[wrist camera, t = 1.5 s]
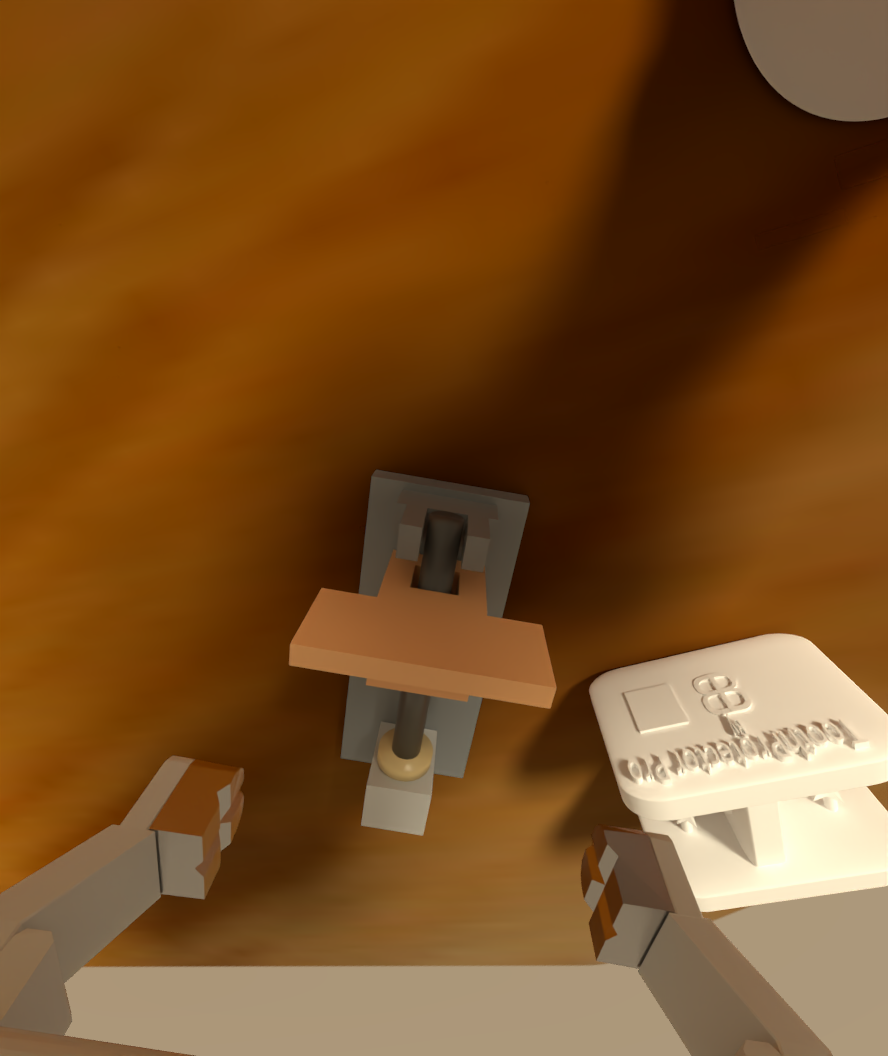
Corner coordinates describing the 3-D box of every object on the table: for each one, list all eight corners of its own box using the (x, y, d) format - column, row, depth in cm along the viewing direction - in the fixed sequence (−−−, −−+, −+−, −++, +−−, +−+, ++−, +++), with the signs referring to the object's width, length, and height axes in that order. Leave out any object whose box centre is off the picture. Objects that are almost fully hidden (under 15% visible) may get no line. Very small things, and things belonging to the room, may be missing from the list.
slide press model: (375, 469, 32) (350, 507, 26) (527, 495, 32) (541, 540, 26) (344, 743, 42) (320, 823, 35) (462, 763, 42) (461, 846, 35)
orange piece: (347, 541, 32) (290, 643, 22) (530, 572, 32) (556, 687, 22) (339, 619, 34) (285, 744, 24) (510, 648, 35) (526, 783, 25)
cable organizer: (609, 765, 41) (658, 922, 30) (580, 664, 37) (624, 803, 27) (804, 726, 39) (932, 882, 28) (793, 614, 35) (935, 745, 24)
